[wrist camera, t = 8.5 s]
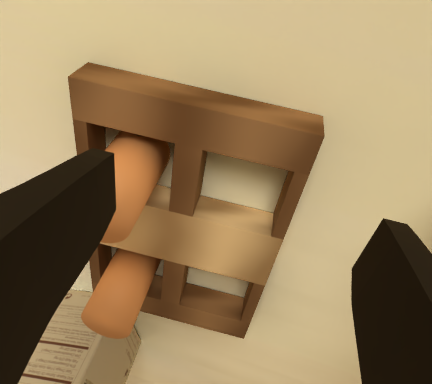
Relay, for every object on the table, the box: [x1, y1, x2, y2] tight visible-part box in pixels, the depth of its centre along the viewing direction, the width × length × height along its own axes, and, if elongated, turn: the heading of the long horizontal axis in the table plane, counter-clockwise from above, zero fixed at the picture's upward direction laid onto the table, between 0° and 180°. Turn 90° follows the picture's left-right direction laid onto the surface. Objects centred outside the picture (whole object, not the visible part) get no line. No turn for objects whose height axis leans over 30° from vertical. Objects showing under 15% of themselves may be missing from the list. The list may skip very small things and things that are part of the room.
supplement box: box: [18, 290, 141, 384], centre depth 29 cm, size 7×7×13 cm
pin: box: [81, 248, 161, 339], centre depth 24 cm, size 3×3×6 cm
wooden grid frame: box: [68, 62, 324, 339], centre depth 23 cm, size 12×18×2 cm, turn 171°
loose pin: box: [101, 131, 170, 243], centre depth 18 cm, size 3×3×6 cm
